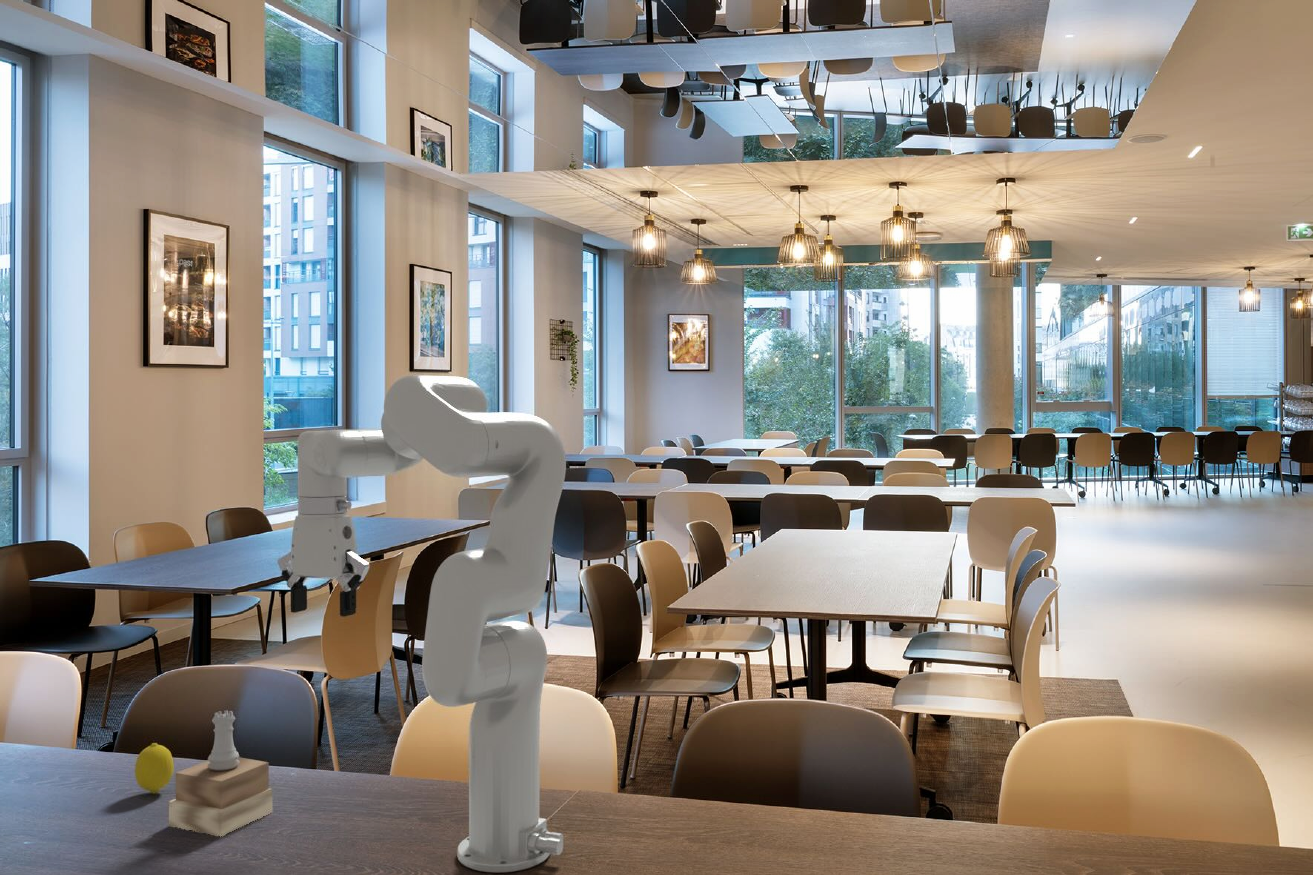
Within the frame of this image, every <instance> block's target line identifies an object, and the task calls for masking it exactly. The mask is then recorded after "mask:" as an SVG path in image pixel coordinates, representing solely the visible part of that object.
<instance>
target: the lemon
mask: <svg viewBox="0 0 1313 875" xmlns="http://www.w3.org/2000/svg"><path fill="white" fill-rule="evenodd" d="M174 767H175V764H174V759H173V756H172V753H171V751H170V750H169V748H167V747H165V746H164V745H161V744H158V743H157V742H153V743H151V744H150V745H148V746H147V747H146V748H144V749H142V751H141V752H140V753H139V754H138V756H137V759H136V761H135V766H134V776H135V780H136V782H137V784H138V785H139V787H140V788H142V789H143V790H145V791H149V792H150V793H151V794H153V795H155V794H158V792H159V791H160V790H161V789H163V788H165V787H166V786H167V785H168V784H169V782H170V781H171V780H172V778H173V774H174Z"/></svg>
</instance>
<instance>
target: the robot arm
mask: <svg viewBox="0 0 1313 875" xmlns="http://www.w3.org/2000/svg"><path fill="white" fill-rule="evenodd" d="M380 428H381V429H379V428H375V429H374V428H361V429H360V428H358V429H357V428H356V429H355V428H354V429H353V428H352V429H330V430H307V431H303V432H301V433H300V434H299V436H298V438H297V515H296V516H295V518H294V524H293V527H292V535H291V536H292V537H291V547H290V552H288V553H287V554H285V555H283V556H282V557H279V558H278V559H277V564H278V567H279V570H280V571H281V576H282V578H283V579H284V580H285V582H286V586H287V588H289V589H290V612H291V613H293V614H294V613H299V612H303V611H307V609H308V585H305V583H306V582H307V580H308V579H309V578H311V579H328V580H336V581H337V583H338V584H339V586H340V588H341V589H342V591H340V592H339V616H340V617H342V618H343V617H345V618H346V617H349V616H353V615H355V614H356V612H357V590H358V589H360V587H361V585H362V584H363V582H365V580H366V576H367V573H368V572H369V570H370V566H371V565H370V563H369V562H368V561H366V560H365V559H363V558H361V557H360V556H359V555H358V549H357V548H358V547H357V537H356V531H355V526H354V521H353V518H352V515H349V514H348V510H350V509H351V508H352V506H353V505H352V504H353V503H352V501H351V500H348V496H347V495H348V489H347V486H348V479H349V478H359V477H360V478H361V477H364V478H365V477H366V478H367V477H383V476H391V475H394V474H396V473H400V472H402V471H404V470H408V469H409V468H412V467H414V466H417V465H418V464H420V463H421V462H423V459H424V460H426V461H427V462H428V463H429V464H430V465H431V466H432V467H434V468H435V469H436V470H438V471H440V472H441V473H443V474H444V475H447V476H450V477H454V478H483V477H497V476H508V477H509V481H508V482H507V484H506V486H505V487H504V488H503V489H502V491H501V492H500V493H499V495H498V497H497V499H496V501H495V502H494V505H493V508H492V511H491V514H490V519H489V530H488V535H487V539H486V542H485V545H484V546H483V547H482V548H478V549H477V548H475V549H471V550H470V549H468V550H463V551H459V552H455V553H454V554H452V555H449V556H448V557H447V558H446V559H445V560H443V562H442V563H441V564H440V566H438V568H437V570H436V572H435V573H434V576H433V579H432V583H431V586H430V593H429V600H428V607H427V608H428V609H427V617H426V622H425V623H426V625H425V631H424V632H425V633H424V641H423V650H422V658H421V660H422V661H421V664H422V666H421V667H422V668H421V671H422V672H421V673H422V679H423V683H424V686H425V689H426V691H427V693H428V695H429V697H430V698H431V700H433V701H434V702H436V703H437V704H439V705H441V706H443V707H448V708H454V707H455V708H456V707H462V706H466V705H471V704H474V703H475V704H474V706H473V709H472V712H471V714H470V721H469V726H468V728H469V729H468V836H467V837H466V838H464V839H463V840H462V841H460V843H459V844H458V846H457V848H456V849H457V859H458V861H459V862H460V863H461V864H462V865H463V866H465V867H466V868H469V869H470V870H471V869H472V870H474V871H479V872H485V873H512V872H517V871H518V872H519V871H523V870H526V869H530V868H532V867H533V868H534V867H535V866H537V865H539V864H541V863H543V862H545V860H547V859H548V858H549V856H550V855H555V856H559V855H561V854H562V852H563V850H564V834H563V833H559V832H554V831H553V832H552V831H549V830H548V829H547V826H548V824H547V818H544V817H543V818H542V817H540V732H541V730H540V727H541V726H540V722H541V721H540V720H541V704H542V702H541V701H542V693H543V687H544V682H545V679H546V678H545V676H546V671H547V662H548V650H547V645H546V642H545V639H544V637H543V636H542V634H541V633H540V631H538V630H539V629H537V628H536V627H534V626H533V625H531V624H529V623H527V622H525V621H522V620H521V621H520V620H503V619H509V618H513V617H518V616H521V615H525V614H528V613H531V612H532V611H535V610H536V609H537V608H538V607H539V606H540V604H542V601H543V599H544V596H545V592H546V586H547V582H548V581H547V580H548V575H549V574H548V573H549V566H550V559H551V552H552V545H553V544H552V543H553V536H554V529H555V528H554V527H555V520H556V514H557V511H558V507H559V503H560V500H561V495H562V492H563V487H564V483H565V479H566V471H567V465H566V464H567V460H566V457H567V456H566V453H565V452H566V450H565V447H564V444H563V442H562V439H561V437H560V436H559V434H558V432H557V430H556V429H555V428H554V427H553V426H552V425H551V424H550V423H548V422H547V421H546V420H545V419H543V418H541V417H538V416H535V415H532V414H527V413H521V412H507V411H505V412H504V411H502V412H501V411H499V412H498V411H497V412H488V400H487V398H486V394H485V392H484V391H483V389H482V388H481V387H480V386H479V385H478V384H477V383H475V382H474V381H472V380H471V379H468V378H465V377H462V376H453V375H434V374H433V375H432V374H431V375H430V374H408V375H406V376H403V377H400V378H399V379H397V380H396V381H395V382H393V383H392V385H390V387H389V389H388V390H387V392H386V395H385V397H384V401H383V413H382V416H381V420H380ZM499 620H502V621H499ZM493 621H494V622H493ZM495 621H497V622H495ZM490 622H492V623H490ZM486 623H487V624H486Z"/></svg>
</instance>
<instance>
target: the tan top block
mask: <svg viewBox="0 0 1313 875" xmlns="http://www.w3.org/2000/svg"><path fill="white" fill-rule="evenodd" d="M237 760H239V761H240V763H239V764H238V766H237V767H236V768H233V769H230V770H224V771H213V770H210V769H209V767H208V766H207V765H208V764H209V763H210V762H209V761H208V760H206V761H203V762H201V763H200V762H199V763H197V764H195V765H192V766H190V767H187V768H185V769H181V770H180V771H176V772H175V799H176V800H179V801H184V802H188V803H193V804H198V805H203V806H208V807H213V808H218V809H223V808H226V807H228V806H230V805H233V804H235V803H237V802H240V801H242V800H244V799H246V798H249V797H251V796H253V795H256V794H258V793H260V792H263V791H265V790H267V789H269V788H270V787H269V786H270V783H269V782H270V780H269V778H270V776H269V774H270V771H269V768H270V766H269V764H270V763H269V762H267V761H262V760H257V759H251V758H245V757H242V756H239V758H238V759H237Z"/></svg>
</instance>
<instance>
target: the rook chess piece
mask: <svg viewBox="0 0 1313 875" xmlns="http://www.w3.org/2000/svg"><path fill="white" fill-rule="evenodd" d="M235 720H236V717H235V715H234V712H233V711H232V710H224V712H223V713H222V711H217V712H214V716H213V718H212V719H211V722H212V723H213V724H214V729H213V732H214V739H213V740H214V741H213V747H212V750H211V751H210V752H211V753H210V754H209V756H208V757H207V761H209V762H210V763H209V764H208V765H207V766H208V767H209V769H210V770H213V771H224V770H230V769H233V768H236V767H237V766H238V764H239V763H240V761H239V760H237V759H238V758H239V757H240V755H239V752H238V751H237V748H236V747H235V744H234V737H233V731H234V729H235V728H234V727H233V723H234V722H235Z"/></svg>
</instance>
